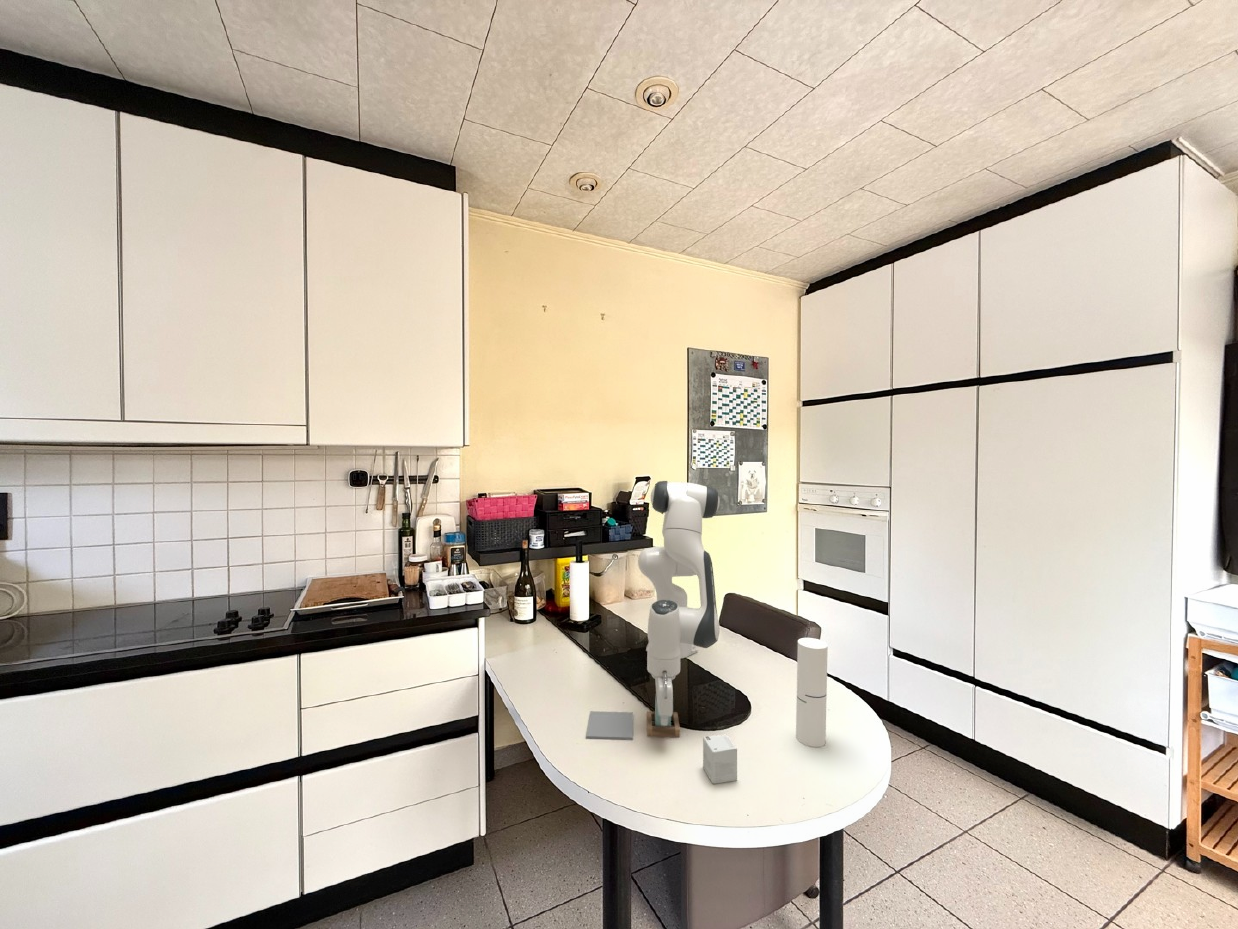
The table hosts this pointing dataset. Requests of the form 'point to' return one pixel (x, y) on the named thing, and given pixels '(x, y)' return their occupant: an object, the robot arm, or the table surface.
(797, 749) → the table surface
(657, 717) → the teal block
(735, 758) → the skincare box
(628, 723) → the mat
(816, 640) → the cylindrical container
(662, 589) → the robot arm
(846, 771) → the table surface
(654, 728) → the pocket
